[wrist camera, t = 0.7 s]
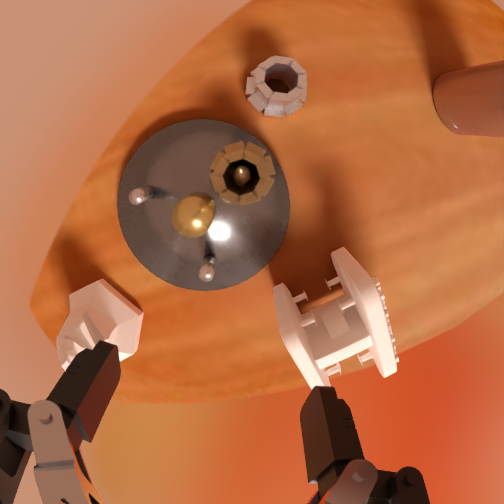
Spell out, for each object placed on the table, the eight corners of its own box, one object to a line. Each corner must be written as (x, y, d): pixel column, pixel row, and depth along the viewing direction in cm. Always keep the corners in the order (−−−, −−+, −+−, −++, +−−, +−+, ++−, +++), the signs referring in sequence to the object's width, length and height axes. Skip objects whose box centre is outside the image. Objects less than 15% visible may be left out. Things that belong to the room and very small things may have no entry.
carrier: (211, 86, 27) (204, 73, 21) (321, 218, 32) (334, 232, 27) (95, 201, 31) (71, 210, 26) (197, 311, 36) (190, 336, 31)
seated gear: (230, 132, 27) (225, 127, 22) (283, 160, 28) (292, 162, 23) (202, 185, 29) (191, 193, 23) (254, 212, 30) (256, 226, 25)
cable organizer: (266, 275, 35) (273, 331, 24) (342, 238, 33) (382, 279, 22) (308, 354, 39) (324, 413, 28) (372, 324, 38) (403, 376, 27)
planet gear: (278, 56, 25) (285, 37, 20) (315, 97, 27) (329, 86, 21) (234, 87, 27) (231, 73, 21) (271, 129, 28) (276, 123, 23)
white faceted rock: (61, 295, 37) (4, 317, 23) (130, 268, 37) (75, 287, 23) (90, 363, 38) (45, 403, 24) (162, 346, 38) (126, 396, 24)
